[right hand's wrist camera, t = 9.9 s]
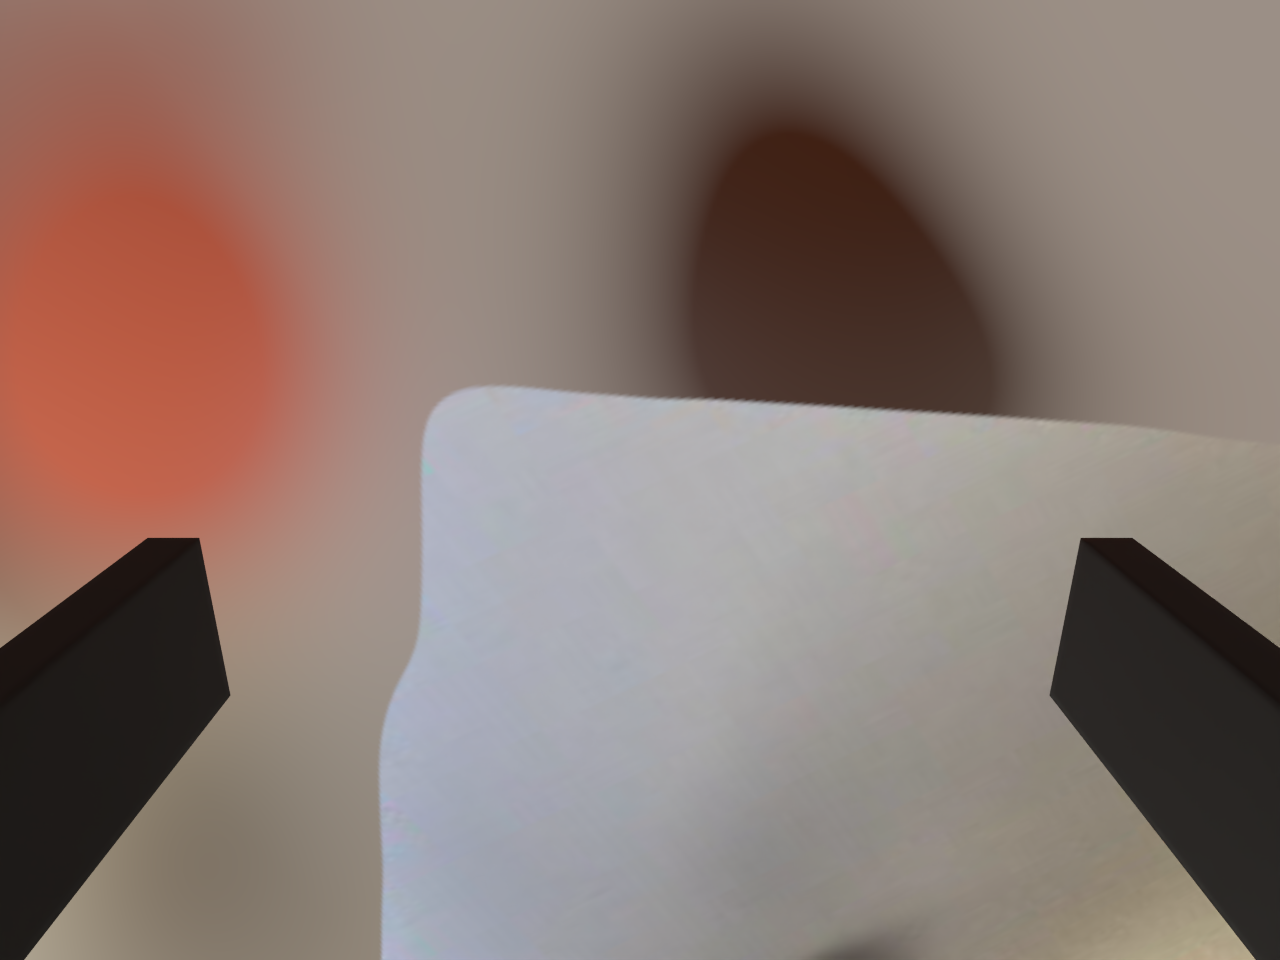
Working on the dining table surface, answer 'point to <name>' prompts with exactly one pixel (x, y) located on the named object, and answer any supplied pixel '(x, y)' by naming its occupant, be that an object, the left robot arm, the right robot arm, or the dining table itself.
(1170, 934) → the dining table surface
